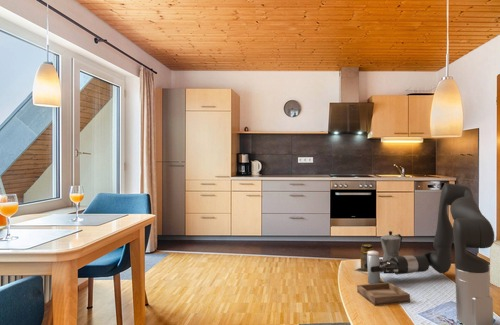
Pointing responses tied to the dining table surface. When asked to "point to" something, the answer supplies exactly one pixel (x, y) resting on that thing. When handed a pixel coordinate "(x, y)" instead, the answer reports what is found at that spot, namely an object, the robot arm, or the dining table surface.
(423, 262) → the robot arm
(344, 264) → the dining table surface
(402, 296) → the tray
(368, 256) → the salt shaker
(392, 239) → the coffeepot
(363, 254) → the condiment
